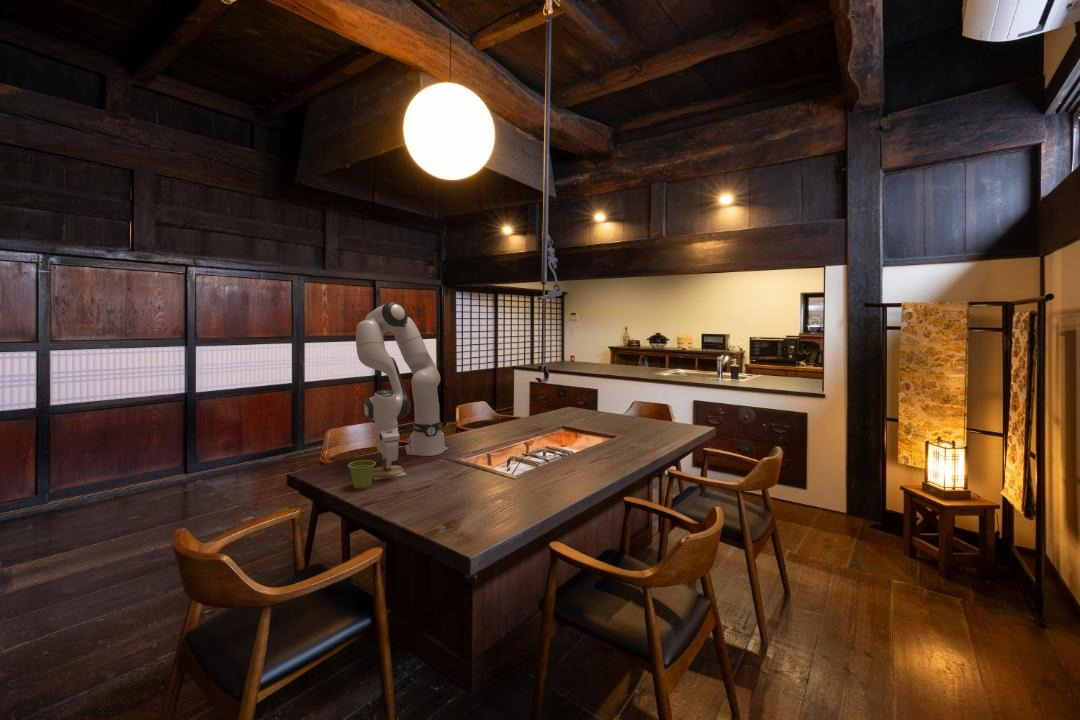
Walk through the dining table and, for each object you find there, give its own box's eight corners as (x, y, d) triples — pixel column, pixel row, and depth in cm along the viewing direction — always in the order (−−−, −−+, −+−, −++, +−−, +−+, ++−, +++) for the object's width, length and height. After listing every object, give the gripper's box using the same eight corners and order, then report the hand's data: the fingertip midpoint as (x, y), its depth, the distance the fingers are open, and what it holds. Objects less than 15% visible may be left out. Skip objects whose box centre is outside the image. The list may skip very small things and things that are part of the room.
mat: (368, 472, 185) (368, 470, 185) (399, 467, 192) (398, 466, 192) (374, 481, 175) (374, 479, 175) (406, 476, 181) (406, 474, 181)
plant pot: (372, 480, 176) (372, 458, 175) (379, 488, 168) (378, 464, 167) (346, 485, 171) (345, 462, 170) (351, 493, 163) (351, 469, 162)
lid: (368, 470, 185) (368, 458, 185) (399, 466, 192) (398, 453, 191) (374, 479, 175) (374, 466, 175) (406, 474, 181) (406, 461, 181)
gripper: (372, 427, 189) (373, 460, 190) (383, 438, 172) (384, 475, 173) (388, 425, 192) (389, 458, 194) (400, 436, 175) (401, 472, 176)
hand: (387, 466), depth 183 cm, fingers closed on lid, 3 cm apart
